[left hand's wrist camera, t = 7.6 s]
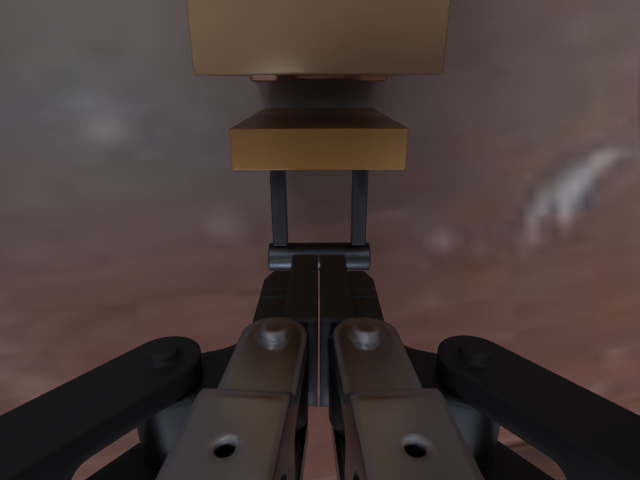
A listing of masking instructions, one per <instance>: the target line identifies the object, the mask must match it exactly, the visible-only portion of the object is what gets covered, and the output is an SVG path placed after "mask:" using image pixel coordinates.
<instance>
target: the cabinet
mask: <svg viewBox="0 0 640 480" xmlns="http://www.w3.org/2000/svg"><path fill="white" fill-rule="evenodd" d="M186 5H187V15H188V24H189V34H190V43H191V53H192V62H193V72H194V74H195V75H213V76H250V75H387V76H399V75H433V74H442V73H443V70H444V60H445V49H446V39H447V28H448V18H449V8H450V0H186Z"/></svg>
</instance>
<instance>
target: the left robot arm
mask: <svg viewBox="0 0 640 480" xmlns="http://www.w3.org/2000/svg"><path fill="white" fill-rule="evenodd" d="M317 369H318V255H293V257H292V263H291V270H290V271H274V272H273V273H271V274H270V275H269V276H268V277H267V278H265V280H264V284H263V287H262V291H261V294H260V299H259V302H258V305H257V309H256V312H255V316H254V320H253V323H252V324H250V325H249V326H247V327H246V328H245V329H244V330H243V332H242V334H241V336H240V338H239V341H238V343H236V344H234V345H232V346H230V347H227V348H224V349H220V350H216V351H211V352H206V353H201V350H200V347H199V345H198V344H197V343H196V342H195V341H194V340H192V339H190V338H186V337H180V336H171V337H163V338H159V339H155V340H152V341H149V342H147V343H145V344H143V345H141V346H139V347H137V348H135V349H133V350H131V351H129V352H127V353H125V354H123V355H121V356H119V357H117V358H115V359H113V360H111V361H109V362H107V363H105V364H103V365H101V366H99V367H97V368H95V369H93V370H91V371H89V372H87V373H85V374H83V375H81V376H79V377H77V378H75V379H73V380H71V381H69V382H67V383H65V384H63V385H61V386H59V387H57V388H55V389H53V390H51V391H49V392H47V393H45V394H43V395H41V396H39V397H37V398H35V399H33V400H31V401H29V402H27V403H25V404H23V405H21V406H19V407H17V408H15V409H13V410H11V411H9V412H7V413H5V414H3V415H1V416H0V480H71V479H72V477H73V475H74V473H75V472H76V470H77V469H78V468H79V466H80V465H81V464H82V463H83V462H85V461H86V460H87V459H88V458H90V457H91V456H93V455H94V454H96V453H98V452H99V451H101V450H102V449H104V448H105V447H107V446H108V445H110V444H111V443H113V442H114V441H116V440H118V439H119V438H121V437H122V436H124V435H125V434H127V433H128V432H130V431H131V430H133V429H134V428H136V427H137V430H138V435H139V440H140V443H138V444H137V445H135V446H134V447H132V448H131V449H129V450H128V451H127V452H125V453H124V454H122V455H121V456H119V457H118V458H116V459H115V460H113V461H112V462H110V463H109V464H107V465H106V466H105V467H103V468H102V469H100V470H99V471H97V472H96V473H94V474H93V475H91V476H90V477H88V478H87V479H85V480H303V472H304V464H305V456H306V449H307V441H308V406H317ZM320 407H329V419H330V422H331V425H332V441H333V449H334V456H335V464H336V472H337V480H554V479H553V478H552V477H550V476H549V475H547V474H546V473H544V472H543V471H541V470H540V469H538V468H537V467H535V466H534V465H533V464H531V463H530V462H528V461H527V460H525V459H524V458H522V457H521V456H519V455H518V454H516V453H515V452H513V451H512V450H511V449H509V448H508V447H506V446H505V445H503V444H502V443H500V442H499V441H497V438H498V433H499V428H500V425H501V426H502V427H504V428H506V429H507V430H509V431H510V432H512V433H513V434H515V435H516V436H518V437H519V438H521V439H522V440H524V441H526V442H527V443H529V444H530V445H532V446H533V447H535V448H536V449H538V450H539V451H541V452H542V453H544V454H546V455H547V456H549V457H550V458H551V459H552V460H554V461H555V462H556V463H557V464H558V465H559V467H560V468H561V469H562V471H563V472H564V474H565V476H566V479H567V480H640V416H639V415H637V414H635V413H633V412H631V411H629V410H627V409H625V408H623V407H621V406H619V405H617V404H615V403H613V402H611V401H609V400H607V399H605V398H603V397H601V396H599V395H597V394H595V393H593V392H591V391H589V390H587V389H585V388H583V387H581V386H579V385H577V384H575V383H573V382H571V381H569V380H567V379H565V378H563V377H561V376H559V375H557V374H555V373H553V372H551V371H549V370H547V369H545V368H543V367H541V366H539V365H537V364H535V363H533V362H531V361H529V360H527V359H525V358H523V357H521V356H519V355H517V354H515V353H513V352H511V351H509V350H507V349H505V348H503V347H501V346H499V345H497V344H495V343H493V342H491V341H489V340H486V339H483V338H479V337H474V336H465V335H464V336H453V337H449V338H447V339H445V340H444V341H442V342H441V343H440V344H439V347H438V353H437V354H435V353H430V352H425V351H420V350H416V349H412V348H410V347H407V346H405V345H403V343H402V341H401V338H400V336H399V334H398V332H397V330H396V329H395V328H394V327H393V326H391V325H390V324H388V323H386V322H384V319H383V315H382V311H381V307H380V304H379V300H378V296H377V292H376V290H375V285H374V281H373V279H372V278H371V277H370V276H369V275H367V274H366V273H365V272H364V271H347V265H346V258H345V255H320Z"/></svg>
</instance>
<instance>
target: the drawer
mask: <svg viewBox="0 0 640 480" xmlns="http://www.w3.org/2000/svg"><path fill="white" fill-rule="evenodd" d="M250 79H251V81H286V80H354V81H385V80H386V79H387V75H250ZM229 134H230V146H231V159H232V169H233V170H270V186H271V208H272V229H273V243H270V244H269V250H268V263H269V269H270V270H271V271H276V270H291V263H292V257H293V255H318V270H320V255H345V258H346V265H347V270H369V268H370V245H369V243H368V242H366V216H367V190H368V170H404V169H405V168H406V155H407V141H408V128H406V127H405V126H403V125H401V124H399V123H398V122H396V121H394V120H392V119H391V118H389V117H387V116H385V115H383V114H382V113H380V112H378V111H376V110H375V109H373V108H266V109H264V110H262V111H260V112H258V113H257V114H255V115H253V116H251V117H250V118H248V119H246V120H244V121H243V122H241V123H239V124H237V125H236V126H234V127H232V128H230V129H229ZM286 170H352V200H351V243H288V220H287V189H286Z"/></svg>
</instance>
